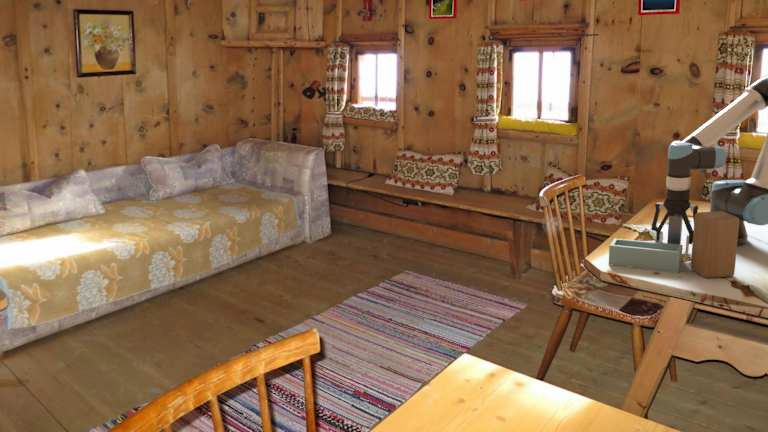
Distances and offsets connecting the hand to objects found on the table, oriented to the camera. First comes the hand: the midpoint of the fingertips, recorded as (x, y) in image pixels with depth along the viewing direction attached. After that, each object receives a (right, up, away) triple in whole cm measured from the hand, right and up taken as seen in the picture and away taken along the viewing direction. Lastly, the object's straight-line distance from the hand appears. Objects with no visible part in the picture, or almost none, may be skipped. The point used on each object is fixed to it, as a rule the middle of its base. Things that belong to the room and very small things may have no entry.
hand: (673, 251), depth 232 cm
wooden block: (+6, -7, -15) cm, 17 cm away
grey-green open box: (-12, -4, -4) cm, 13 cm away
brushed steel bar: (0, -3, +1) cm, 3 cm away
